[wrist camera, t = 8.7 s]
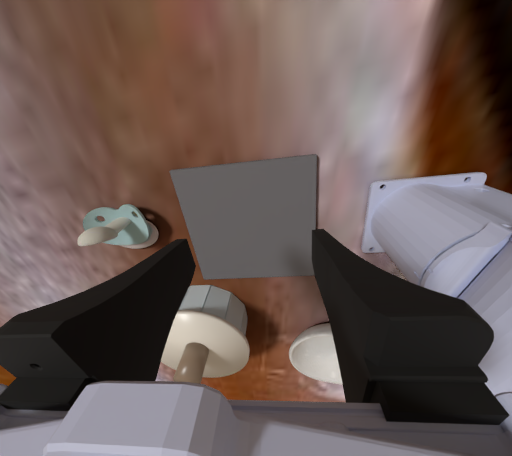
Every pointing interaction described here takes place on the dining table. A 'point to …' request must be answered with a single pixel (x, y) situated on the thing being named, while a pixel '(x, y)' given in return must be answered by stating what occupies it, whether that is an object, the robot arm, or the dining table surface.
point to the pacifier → (118, 228)
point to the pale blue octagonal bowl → (216, 304)
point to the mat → (251, 216)
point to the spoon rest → (316, 354)
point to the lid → (204, 347)
